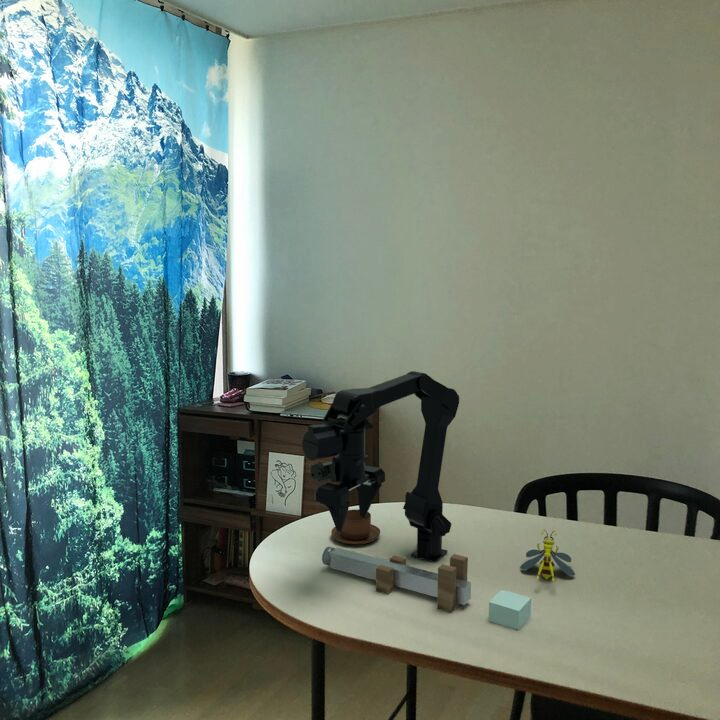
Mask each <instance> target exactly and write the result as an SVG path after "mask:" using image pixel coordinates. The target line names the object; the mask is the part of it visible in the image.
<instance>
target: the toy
mask: <svg viewBox="0 0 720 720" xmlns="http://www.w3.org/2000/svg"><path fill="white" fill-rule="evenodd" d="M544 532H546V536H545V537H544V538H543V541H542V543H543V549H542V550H541V549H540V548H541V547H540V543H537V544H536V547H537V549H530V550H528V551H526V553H525V557H526V558H530V559H528V560H525V562H523V563H522V564H521V565H520V566H519V569H520V570H529V569H531V568H533V567H534V566H535V565H536V564H538V563H539V568H538V572H537V576H536V577H535V579H536V580H539V579H540V575H541V576H542V577H543V578H544V580H545V581H547V580H548V579H550V577H551V578H552V582H556V579H555V575H554V571H555V564H556V565H557V566H558V567H559V568H560V570H561V571H562V572H564V574H566V575H568V576H570V577H571V576H572V577H573V576H575V575H576V573H575V571H574V570H573V569H572V568H571V566H569V565H568V564H567V563H571V562H572V557H571V556H569V555H568V554H567V553H565V552H558V551H559V546H557V545H555V547H556V549H555V551H554V550H553V549H554V548H553V547H554V544H555V539H554V537H552V535H553V533H554V536H557V535H558V534H557V533H558V532H557V531H556V530H553V531H552V532H551V533H550V536H549V533H548V532H547V530H546V529H542V530H541V534H542V535H543V534H544ZM532 557H533V558H532ZM541 559H542V560H541ZM552 559H553V560H552ZM540 560H541V561H540ZM539 561H540V562H539ZM565 562H567V563H565Z"/></svg>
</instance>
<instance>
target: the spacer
mask: <svg viewBox="0 0 720 720" xmlns="http://www.w3.org/2000/svg"><path fill="white" fill-rule="evenodd" d="M531 609H532V597H529V596H526V595H522V594H519V593H515V592H512V591H508V590H504V589H501V590H500V591H499V592H497V594H496V595H495V596H494V597H493V598H492V599H490V600H489V601H488V621H489V622H491V623H495V624H498V625H500V624H501V626H504V627H507V628H510V627H511V629H513V628H514V630H516V629H518V630H517V631H519V630H520V629H521V628H522V627H523V626H524V625H525V623H526V622H527V621H528V620H529V619H530V618H531V616H532V615H531V614H532V613H531V612H532V611H531Z"/></svg>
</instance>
